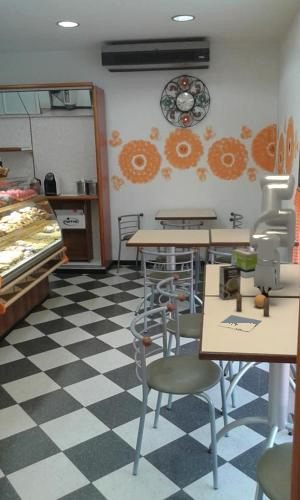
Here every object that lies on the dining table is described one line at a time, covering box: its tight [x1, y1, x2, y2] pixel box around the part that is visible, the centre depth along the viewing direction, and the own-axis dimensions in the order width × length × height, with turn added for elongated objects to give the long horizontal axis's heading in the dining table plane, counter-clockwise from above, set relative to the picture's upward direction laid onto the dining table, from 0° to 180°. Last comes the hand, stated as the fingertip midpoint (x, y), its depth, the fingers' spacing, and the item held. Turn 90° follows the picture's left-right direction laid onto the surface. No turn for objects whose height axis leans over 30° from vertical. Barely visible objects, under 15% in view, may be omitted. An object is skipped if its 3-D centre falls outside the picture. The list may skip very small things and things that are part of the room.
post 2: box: [262, 297, 270, 318], centre depth 187 cm, size 2×2×8 cm
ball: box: [253, 294, 266, 308], centre depth 199 cm, size 6×6×6 cm
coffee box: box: [218, 265, 242, 301], centre depth 213 cm, size 9×6×16 cm
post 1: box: [235, 293, 243, 313], centre depth 194 cm, size 2×2×8 cm
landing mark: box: [220, 314, 262, 330], centre depth 180 cm, size 14×14×1 cm
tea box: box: [230, 248, 258, 279], centre depth 255 cm, size 15×10×15 cm
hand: (264, 300), depth 202 cm, fingers closed
